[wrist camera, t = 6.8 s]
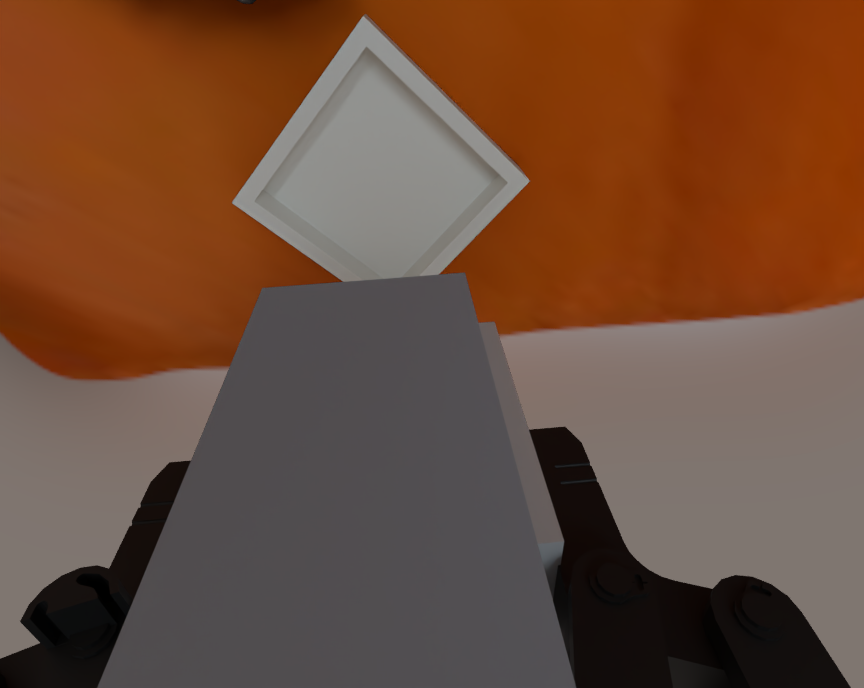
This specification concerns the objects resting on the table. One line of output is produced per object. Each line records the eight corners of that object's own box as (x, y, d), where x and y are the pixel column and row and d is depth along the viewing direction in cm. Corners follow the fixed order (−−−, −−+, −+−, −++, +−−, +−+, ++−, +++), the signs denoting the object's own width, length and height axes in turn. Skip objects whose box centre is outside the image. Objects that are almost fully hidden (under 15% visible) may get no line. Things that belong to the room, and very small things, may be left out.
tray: (365, 13, 24) (363, 15, 22) (519, 167, 29) (529, 181, 27) (243, 187, 28) (231, 202, 26) (395, 297, 33) (395, 318, 31)
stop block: (262, 287, 13) (37, 834, 5) (464, 272, 13) (598, 775, 5) (301, 434, 16) (206, 932, 7) (466, 420, 16) (552, 893, 8)
